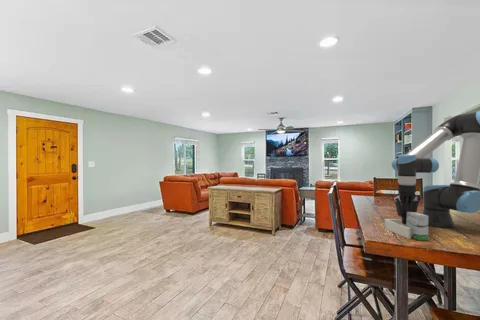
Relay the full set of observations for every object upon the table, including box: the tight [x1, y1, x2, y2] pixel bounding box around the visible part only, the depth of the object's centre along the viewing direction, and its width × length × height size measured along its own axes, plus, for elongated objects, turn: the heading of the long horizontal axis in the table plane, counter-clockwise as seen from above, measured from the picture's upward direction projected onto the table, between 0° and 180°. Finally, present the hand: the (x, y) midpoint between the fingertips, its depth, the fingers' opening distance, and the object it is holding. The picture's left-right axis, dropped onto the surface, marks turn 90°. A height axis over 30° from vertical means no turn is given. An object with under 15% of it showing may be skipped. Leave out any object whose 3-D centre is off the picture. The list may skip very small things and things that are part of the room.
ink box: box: [406, 212, 429, 241], centre depth 112 cm, size 9×5×12 cm, turn 177°
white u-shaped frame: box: [383, 218, 412, 240], centre depth 120 cm, size 10×18×5 cm, turn 3°
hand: (406, 230), depth 118 cm, fingers closed
